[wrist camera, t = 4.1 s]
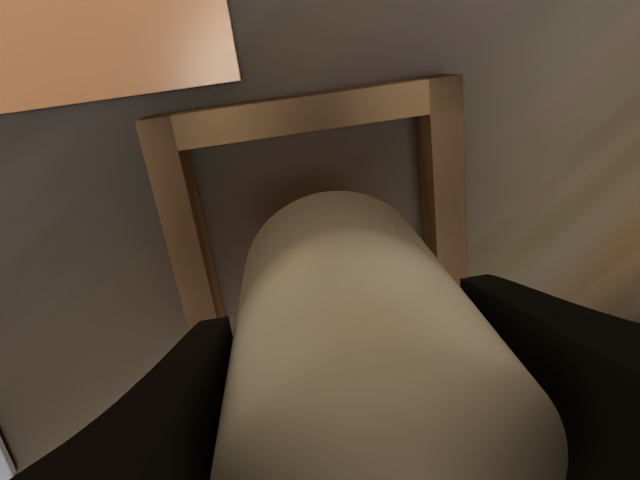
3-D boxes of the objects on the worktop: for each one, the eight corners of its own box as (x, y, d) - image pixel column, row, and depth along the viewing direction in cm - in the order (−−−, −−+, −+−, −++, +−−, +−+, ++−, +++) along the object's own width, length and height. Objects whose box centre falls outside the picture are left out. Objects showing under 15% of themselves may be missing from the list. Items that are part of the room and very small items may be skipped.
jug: (432, 411, 15) (550, 680, 8) (275, 436, 15) (273, 731, 8) (419, 177, 12) (580, 308, 6) (227, 205, 12) (167, 374, 6)
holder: (200, 329, 21) (193, 352, 19) (147, 116, 18) (134, 120, 16) (452, 288, 21) (468, 306, 20) (444, 74, 18) (462, 74, 17)
